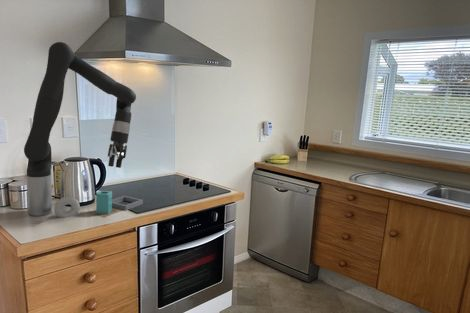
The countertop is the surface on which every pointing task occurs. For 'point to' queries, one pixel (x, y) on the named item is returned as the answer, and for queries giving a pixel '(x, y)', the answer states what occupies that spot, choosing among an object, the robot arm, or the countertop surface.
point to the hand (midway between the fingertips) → (114, 167)
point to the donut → (65, 201)
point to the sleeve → (104, 202)
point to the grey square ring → (124, 198)
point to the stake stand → (104, 214)
